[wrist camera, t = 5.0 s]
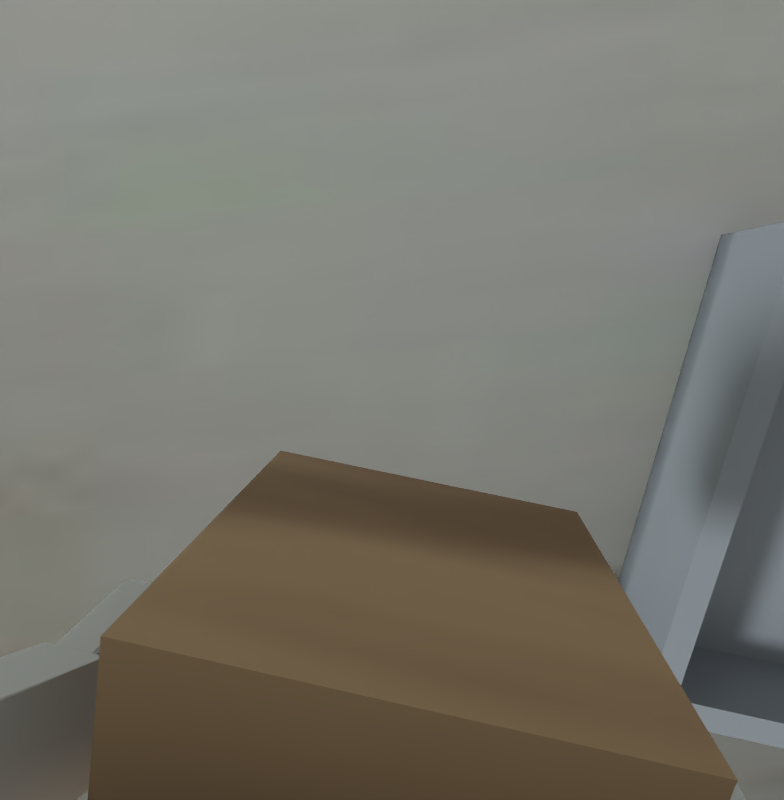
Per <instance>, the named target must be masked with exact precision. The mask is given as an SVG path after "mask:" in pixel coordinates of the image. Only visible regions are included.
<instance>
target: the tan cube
mask: <svg viewBox="0 0 784 800" xmlns="http://www.w3.org/2000/svg"><path fill="white" fill-rule="evenodd" d="M737 781H738V780H737V779H736V777H735V775H734V774H733V772H732V770H731V769H730V767H729V765H728V764H727V762H726V760H725V759H724V757H723V755H722V754H721V752H720V750H719V749H718V747H717V745H716V744H715V742H714V740H713V739H712V737H711V735H710V734H709V732H708V730H707V729H706V727H705V725H704V724H703V722H702V720H701V719H700V717H699V715H698V714H697V712H696V710H695V709H694V707H693V705H692V704H691V702H690V700H689V699H688V697H687V695H686V694H685V692H684V690H683V689H682V687H681V685H680V683H679V682H678V680H677V678H676V677H675V675H674V673H673V672H672V670H671V668H670V667H669V665H668V663H667V662H666V660H665V658H664V657H663V655H662V653H661V652H660V650H659V648H658V647H657V645H656V643H655V642H654V640H653V638H652V637H651V635H650V633H649V632H648V630H647V628H646V627H645V625H644V623H643V622H642V620H641V618H640V617H639V615H638V613H637V612H636V610H635V608H634V607H633V605H632V603H631V602H630V600H629V598H628V597H627V595H626V593H625V592H624V590H623V588H622V587H621V585H620V583H619V582H618V580H617V578H616V577H615V575H614V573H613V572H612V570H611V568H610V567H609V565H608V563H607V562H606V560H605V558H604V557H603V555H602V553H601V552H600V550H599V548H598V547H597V545H596V543H595V542H594V540H593V538H592V537H591V535H590V533H589V532H588V530H587V528H586V527H585V525H584V523H583V522H582V520H581V518H580V517H579V515H578V513H577V512H574V511H569V510H564V509H559V508H555V507H550V506H545V505H540V504H535V503H530V502H526V501H521V500H516V499H511V498H506V497H501V496H497V495H492V494H487V493H482V492H477V491H472V490H468V489H463V488H458V487H453V486H448V485H443V484H439V483H434V482H429V481H424V480H419V479H414V478H410V477H405V476H400V475H395V474H390V473H385V472H381V471H376V470H371V469H366V468H361V467H356V466H352V465H347V464H342V463H337V462H332V461H327V460H323V459H318V458H313V457H308V456H303V455H298V454H294V453H289V452H284V451H280V452H279V453H278V454H277V455H276V456H275V457H274V458H273V459H272V460H271V461H270V462H269V463H268V464H267V465H266V466H265V467H264V469H263V470H262V471H261V472H260V473H259V474H258V475H257V476H256V477H255V478H254V479H253V480H252V481H251V482H250V483H249V484H248V485H247V486H246V487H245V488H244V489H243V490H242V491H241V492H240V493H239V494H238V495H237V496H236V497H235V498H234V499H233V500H232V501H231V502H230V503H229V504H228V506H227V507H226V508H225V509H224V510H223V511H222V512H221V513H220V514H219V515H218V516H217V517H216V518H215V519H214V520H213V521H212V522H211V523H210V524H209V525H208V526H207V527H206V528H205V529H204V530H203V531H202V532H201V533H200V534H199V535H198V536H197V537H196V538H195V539H194V540H193V542H192V543H191V544H190V545H189V546H188V547H187V548H186V549H185V550H184V551H183V552H182V553H181V554H180V555H179V556H178V557H177V558H176V559H175V560H174V561H173V562H172V563H171V564H170V565H169V566H168V567H167V568H166V569H165V570H164V571H163V572H162V573H161V574H160V575H159V576H158V577H157V579H156V580H155V581H154V582H153V583H152V584H151V585H150V586H149V587H148V588H147V589H146V590H145V591H144V592H143V593H142V594H141V595H140V596H139V597H138V598H137V599H136V600H135V601H134V602H133V603H132V604H131V605H130V606H129V607H128V608H127V609H126V610H125V611H124V612H123V613H122V614H121V616H120V617H119V618H118V619H117V620H116V621H115V622H114V623H113V624H112V625H111V626H110V627H109V628H108V629H107V630H106V631H105V632H104V633H103V634H102V635H101V637H100V650H99V663H98V676H97V689H96V702H95V715H94V727H93V740H92V753H91V766H90V779H89V792H88V800H730V799H731V796H732V794H733V791H734V788H735V786H736V783H737Z"/></svg>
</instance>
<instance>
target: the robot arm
mask: <svg viewBox="0 0 784 800" xmlns="http://www.w3.org/2000/svg"><path fill="white" fill-rule="evenodd" d="M151 584H152V583H151V582H147V581H142V580H138V579H128V580H125V581H123V582H122V583H121V584H120V585H119V586H117V587H116V588H115V589H114V590H113V591H112V592H111V593H110V594H109V595H108V596H107V597H106V598H104V599H103V600H102V601H101V602H100V603H99V604H98V605H97V606H96V607H95V608H94V609H92V610H91V611H90V612H89V613H88V614H87V615H86V616H85V617H84V618H83V619H82V620H81V621H79V622H78V623H77V624H76V625H75V626H74V627H73V628H72V629H71V630H70V631H69V632H67V633H66V634H65V635H64V636H63V637H62V638H61V639H60V640H59V641H58V642H57V643H55V644H50V643H45V642H42V643H40V644H37V645H34V646H31V647H28V648H25V649H22V650H19V651H16V652H13V653H11V654H8V655H5V656H2V657H0V800H76V799H77V798H79V797H80V796H81V795H83V794H84V793H86V792H87V791H88V790H89V779H90V766H91V753H92V740H93V727H94V715H95V702H96V689H97V676H98V663H99V650H100V637H101V635H102V634H103V633H104V632H105V631H106V630H107V629H108V628H109V627H110V626H111V625H112V624H113V623H114V622H115V621H116V620H117V619H118V618H119V617H120V616H121V614H122V613H123V612H124V611H125V610H126V609H127V608H128V607H129V606H130V605H131V604H132V603H133V602H134V601H135V600H136V599H137V598H138V597H139V596H140V595H141V594H142V593H143V592H144V591H145V590H146V589H147V588H148V587H149V586H150V585H151ZM730 800H746V798H745V796H744V795H743V793H742V791H741V790H740V788H739V786H738V785H737V783H736V786H735V788H734V791H733V794H732V796H731V799H730Z"/></svg>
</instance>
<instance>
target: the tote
mask: <svg viewBox="0 0 784 800" xmlns="http://www.w3.org/2000/svg"><path fill="white" fill-rule="evenodd" d="M618 582H619V583H620V585H621V587H622V588H623V590H624V592H625V593H626V595H627V597H628V598H629V600H630V602H631V603H632V605H633V607H634V608H635V610H636V612H637V613H638V615H639V617H640V618H641V620H642V622H643V623H644V625H645V627H646V628H647V630H648V632H649V633H650V635H651V637H652V638H653V640H654V642H655V643H656V645H657V647H658V648H659V650H660V652H661V653H662V655H663V657H664V658H665V660H666V662H667V663H668V665H669V667H670V668H671V670H672V672H673V673H674V675H675V677H676V678H677V680H678V682H679V683H680V685H681V687H682V689H683V690H684V692H685V694H686V695H687V697H688V699H689V700H690V702H691V704H692V705H693V707H694V709H695V710H696V712H697V714H698V715H699V717H700V719H701V720H702V722H703V724H704V725H705V727H706V729H707V730H708V732H712V733H716V734H721V735H725V736H730V737H734V738H738V739H743V740H747V741H752V742H756V743H761V744H765V745H770V746H774V747H779V748H783V749H784V222H782V223H777V224H772V225H768V226H763V227H758V228H753V229H748V230H744V231H739V232H734V233H729V234H725V235H721V237H720V241H719V244H718V248H717V251H716V254H715V258H714V261H713V264H712V268H711V271H710V274H709V278H708V281H707V285H706V288H705V291H704V295H703V298H702V301H701V305H700V308H699V312H698V315H697V318H696V322H695V325H694V328H693V332H692V335H691V339H690V342H689V345H688V349H687V352H686V355H685V359H684V362H683V365H682V369H681V372H680V376H679V379H678V382H677V386H676V389H675V392H674V396H673V399H672V403H671V406H670V409H669V413H668V416H667V419H666V423H665V426H664V429H663V433H662V436H661V440H660V443H659V446H658V450H657V453H656V456H655V460H654V463H653V467H652V470H651V473H650V477H649V480H648V483H647V487H646V490H645V494H644V497H643V500H642V504H641V507H640V510H639V514H638V517H637V520H636V524H635V527H634V531H633V534H632V537H631V541H630V544H629V547H628V551H627V554H626V558H625V561H624V564H623V568H622V571H621V574H620V578H619V581H618Z"/></svg>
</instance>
